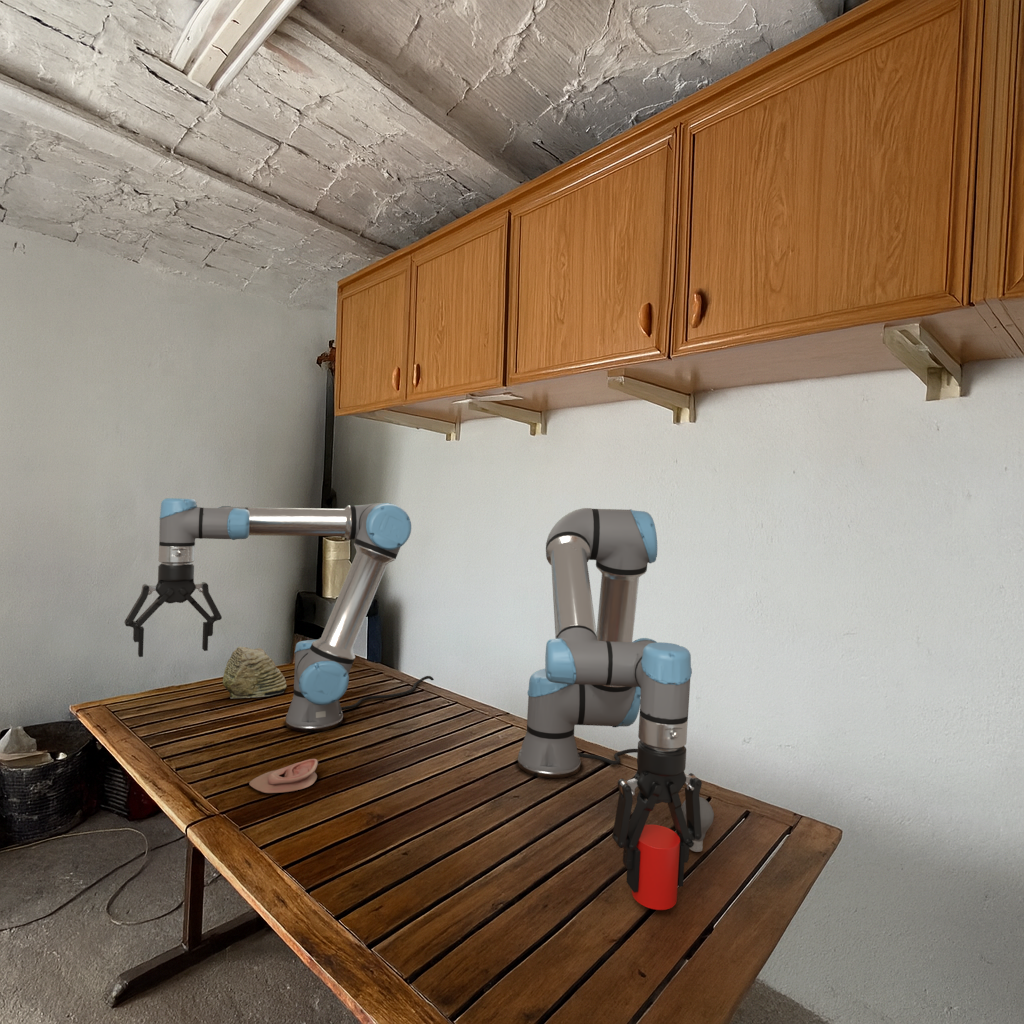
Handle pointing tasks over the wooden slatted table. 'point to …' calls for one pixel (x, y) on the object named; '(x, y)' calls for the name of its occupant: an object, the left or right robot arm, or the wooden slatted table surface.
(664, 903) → the cylinder
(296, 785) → the anatomical model
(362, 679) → the wooden slatted table surface
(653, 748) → the right robot arm
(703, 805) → the light bulb
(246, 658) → the fossil
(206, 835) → the wooden slatted table surface
